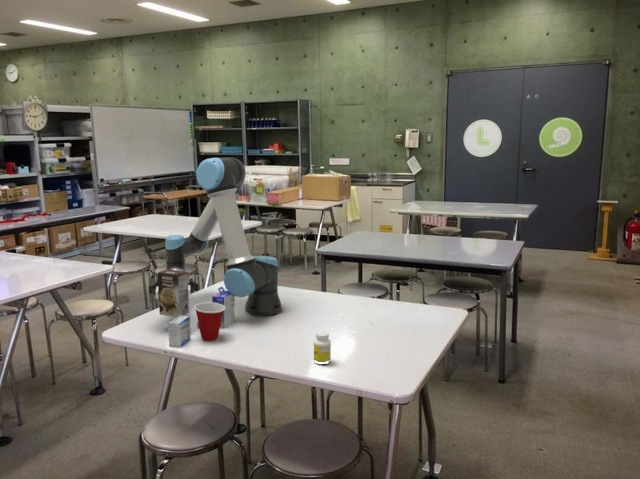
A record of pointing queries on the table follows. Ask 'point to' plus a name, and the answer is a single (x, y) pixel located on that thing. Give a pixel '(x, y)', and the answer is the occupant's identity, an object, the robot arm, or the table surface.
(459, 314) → the table surface
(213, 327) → the plastic cup
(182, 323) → the medicine box
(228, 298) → the ink cartridge box
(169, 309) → the coffee box
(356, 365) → the table surface
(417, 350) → the table surface
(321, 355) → the supplement bottle
